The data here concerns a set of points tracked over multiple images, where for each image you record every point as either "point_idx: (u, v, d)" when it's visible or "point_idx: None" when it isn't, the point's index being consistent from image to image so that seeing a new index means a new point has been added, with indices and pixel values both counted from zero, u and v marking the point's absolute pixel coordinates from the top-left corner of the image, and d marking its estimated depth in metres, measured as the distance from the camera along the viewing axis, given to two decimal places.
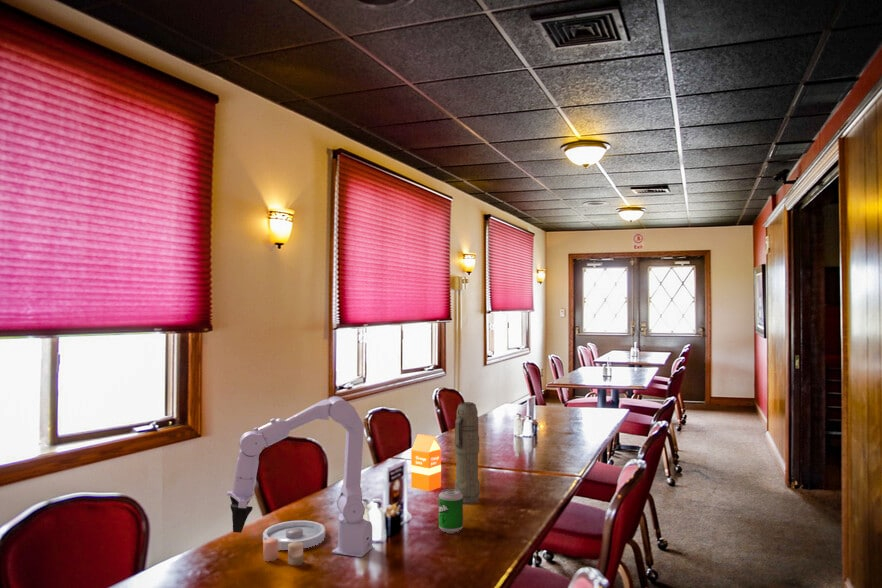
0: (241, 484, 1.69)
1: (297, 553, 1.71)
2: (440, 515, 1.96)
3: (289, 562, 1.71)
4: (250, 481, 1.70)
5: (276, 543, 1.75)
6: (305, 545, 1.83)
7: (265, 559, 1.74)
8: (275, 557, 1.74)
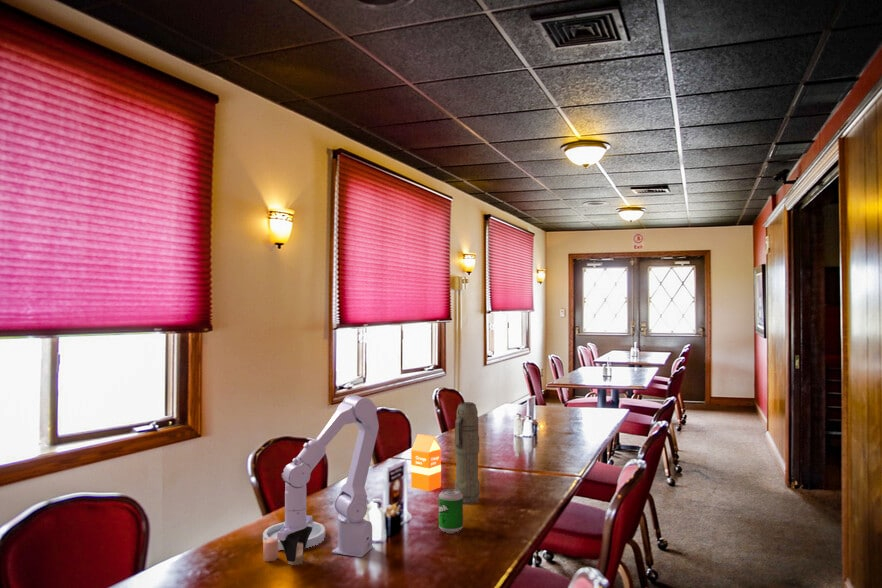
0: (287, 515, 1.71)
1: (297, 553, 1.71)
2: (440, 515, 1.96)
3: (289, 562, 1.71)
4: (294, 513, 1.70)
5: (276, 543, 1.75)
6: None
7: (265, 559, 1.74)
8: (275, 557, 1.74)
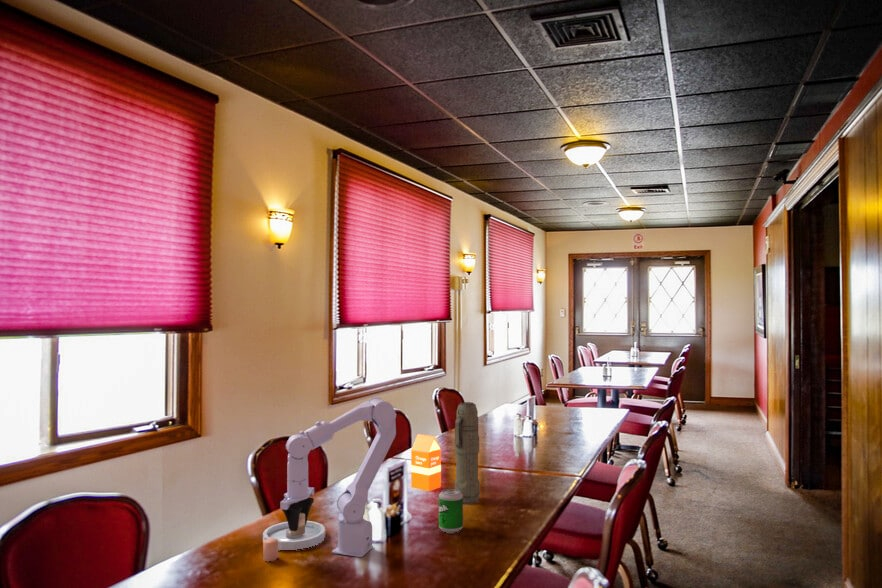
0: (290, 486, 1.74)
1: (299, 522, 1.75)
2: (440, 515, 1.96)
3: (291, 532, 1.75)
4: (297, 483, 1.74)
5: (276, 543, 1.75)
6: (305, 545, 1.83)
7: (265, 559, 1.74)
8: (275, 557, 1.74)
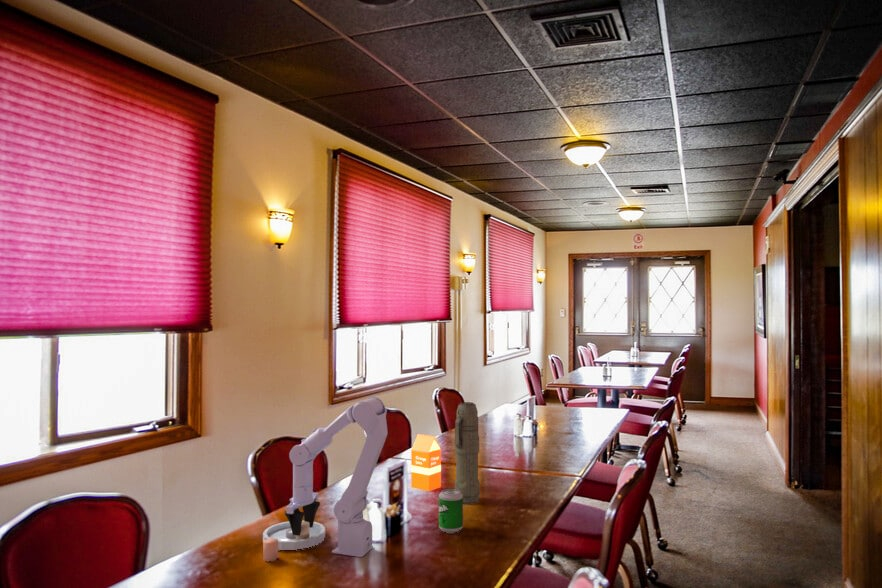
0: (295, 491, 1.84)
1: (304, 531, 1.85)
2: (440, 515, 1.96)
3: (296, 539, 1.85)
4: (302, 489, 1.84)
5: (276, 543, 1.75)
6: (305, 545, 1.83)
7: (265, 559, 1.74)
8: (275, 557, 1.74)
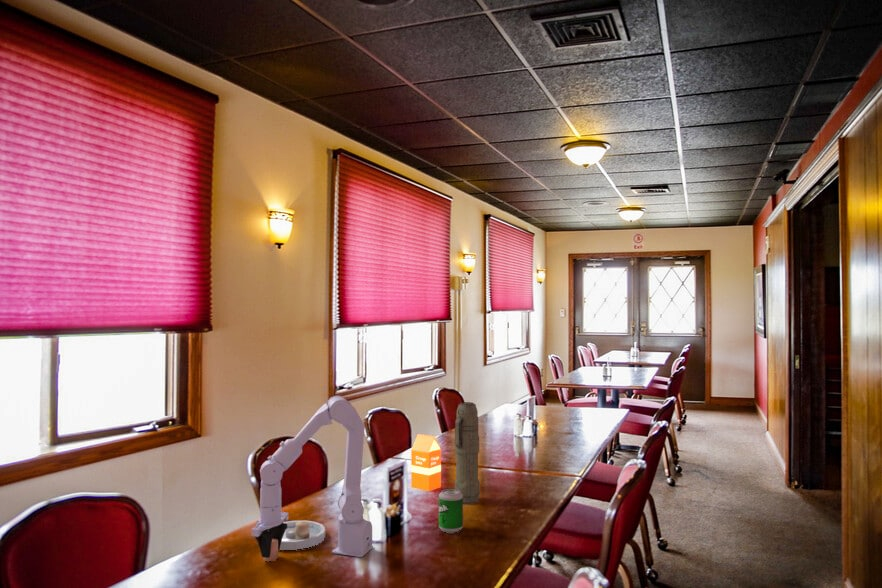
0: (262, 512, 1.73)
1: (304, 531, 1.85)
2: (440, 515, 1.96)
3: (296, 539, 1.85)
4: (269, 510, 1.73)
5: (276, 543, 1.75)
6: (305, 545, 1.83)
7: (265, 559, 1.74)
8: (275, 557, 1.74)
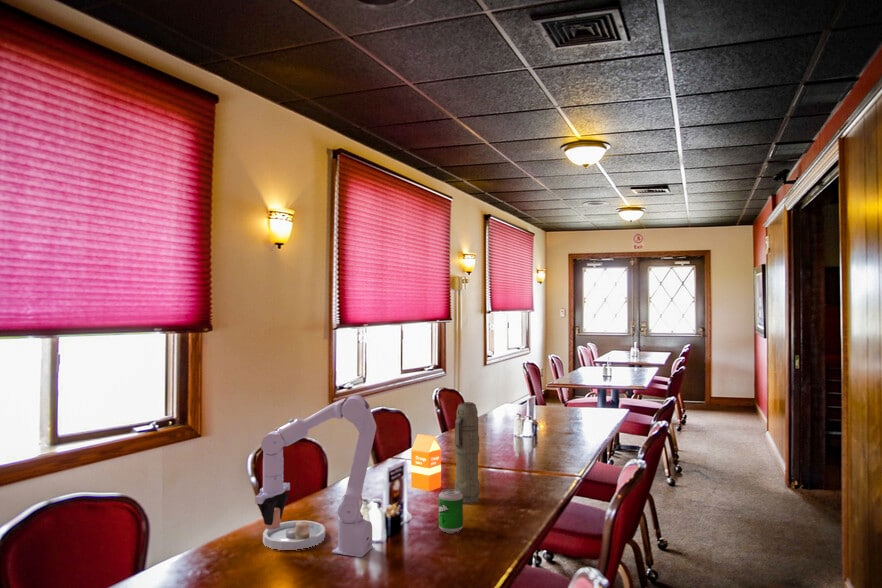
0: (265, 481, 1.79)
1: (303, 531, 1.85)
2: (440, 515, 1.96)
3: (296, 539, 1.85)
4: (272, 478, 1.79)
5: (278, 511, 1.80)
6: (305, 545, 1.83)
7: (267, 527, 1.79)
8: (277, 525, 1.80)
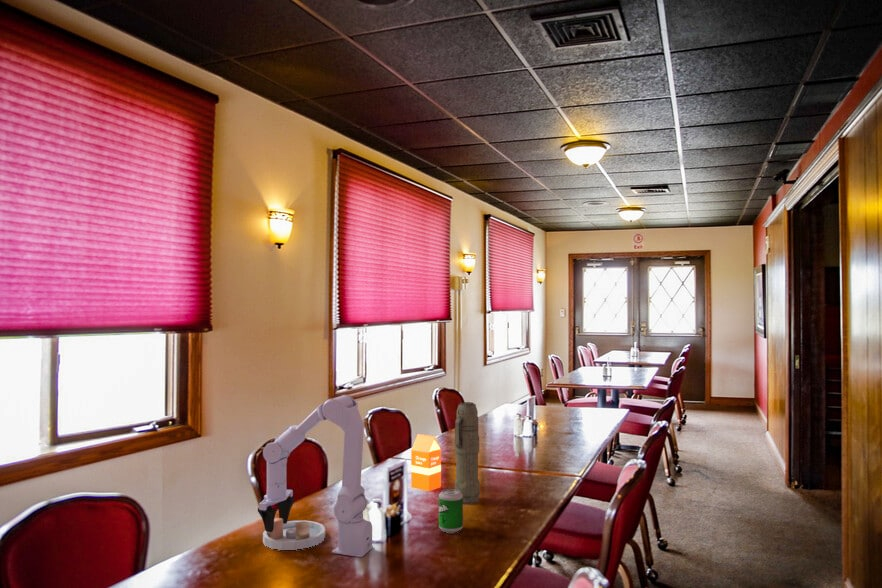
0: (269, 488, 1.87)
1: (303, 531, 1.85)
2: (440, 515, 1.96)
3: (296, 539, 1.85)
4: (275, 486, 1.87)
5: (281, 522, 1.89)
6: (305, 545, 1.83)
7: (271, 537, 1.88)
8: (280, 535, 1.88)
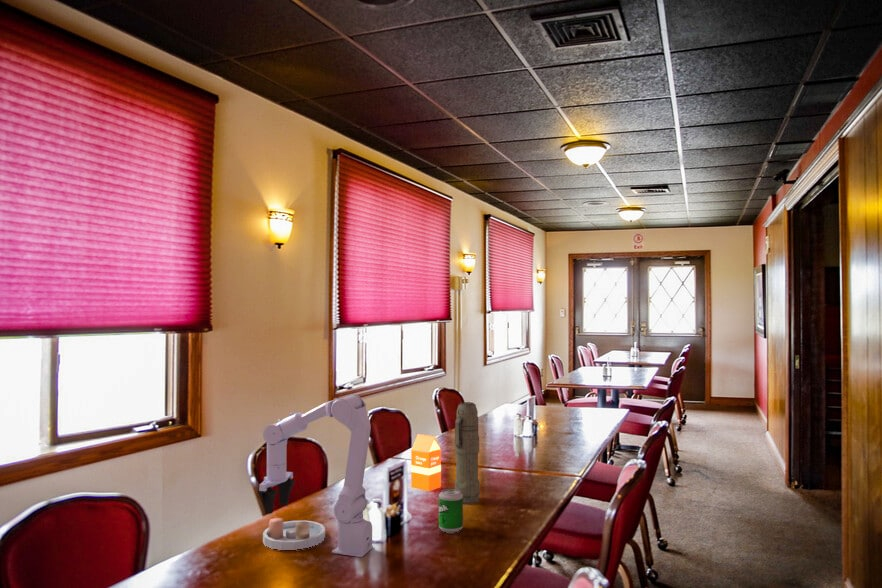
0: (269, 470, 1.87)
1: (303, 531, 1.85)
2: (440, 515, 1.96)
3: (296, 539, 1.85)
4: (275, 467, 1.87)
5: (281, 522, 1.89)
6: (305, 545, 1.83)
7: (271, 537, 1.88)
8: (280, 535, 1.88)
